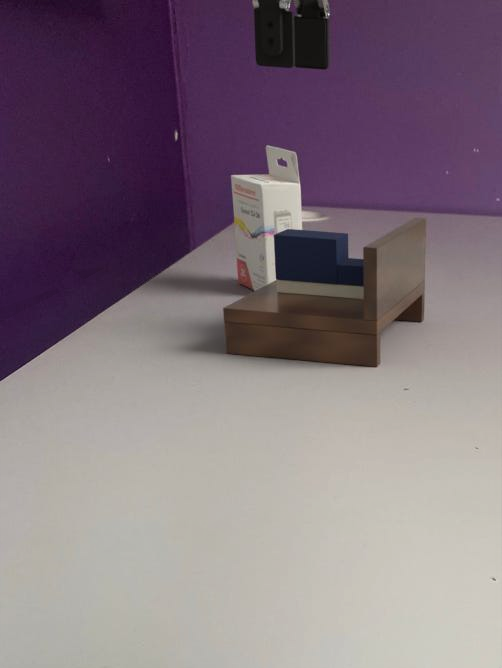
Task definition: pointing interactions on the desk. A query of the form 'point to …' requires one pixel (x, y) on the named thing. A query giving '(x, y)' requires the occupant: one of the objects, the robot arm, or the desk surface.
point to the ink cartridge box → (264, 215)
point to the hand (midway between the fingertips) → (294, 67)
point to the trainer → (317, 264)
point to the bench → (336, 308)
